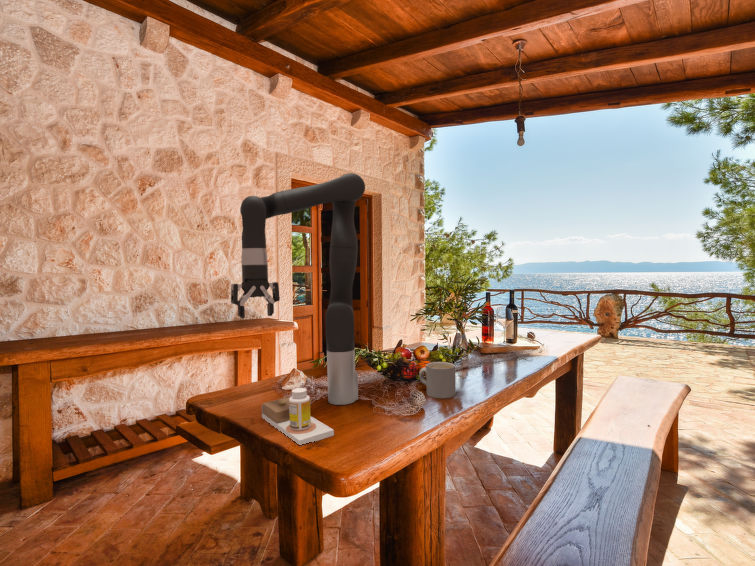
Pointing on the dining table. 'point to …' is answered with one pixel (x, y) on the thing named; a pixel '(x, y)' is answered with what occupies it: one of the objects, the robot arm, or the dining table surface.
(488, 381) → the dining table surface
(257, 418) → the dining table surface
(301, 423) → the supplement bottle
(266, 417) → the board
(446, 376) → the coffee mug
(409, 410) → the dining table surface
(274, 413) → the cover
